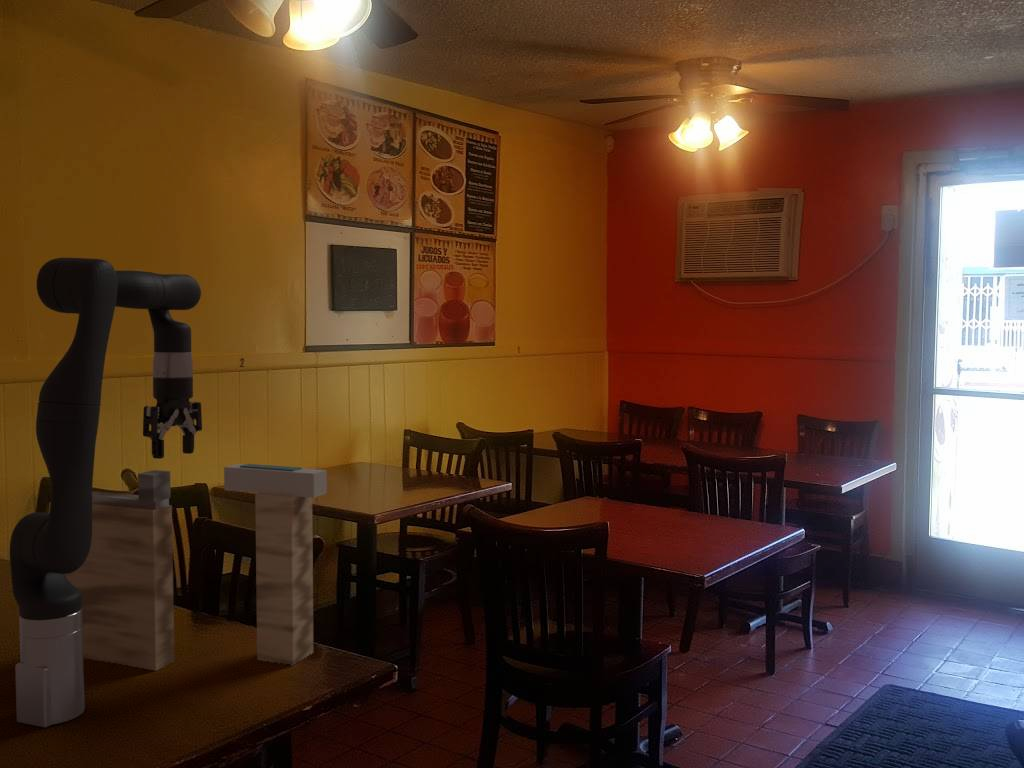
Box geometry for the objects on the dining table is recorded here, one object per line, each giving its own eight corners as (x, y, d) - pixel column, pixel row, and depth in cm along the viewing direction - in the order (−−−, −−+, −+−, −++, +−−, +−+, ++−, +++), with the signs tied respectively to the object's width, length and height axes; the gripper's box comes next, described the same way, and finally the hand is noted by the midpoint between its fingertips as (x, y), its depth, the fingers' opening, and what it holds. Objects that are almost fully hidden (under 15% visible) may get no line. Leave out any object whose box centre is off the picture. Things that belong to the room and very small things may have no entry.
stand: (293, 665, 176) (291, 497, 174) (257, 659, 179) (255, 494, 177) (313, 653, 183) (312, 491, 181) (278, 648, 186) (277, 488, 184)
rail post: (155, 670, 173) (152, 475, 171) (64, 655, 181) (59, 467, 179) (174, 661, 178) (171, 471, 176) (84, 646, 186) (79, 463, 183)
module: (326, 493, 178) (326, 468, 178) (313, 497, 174) (313, 472, 174) (238, 486, 185) (238, 462, 185) (224, 490, 181) (224, 465, 181)
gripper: (162, 377, 179) (163, 461, 180) (211, 374, 192) (212, 452, 193) (131, 375, 182) (132, 459, 183) (182, 373, 195) (183, 450, 196)
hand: (173, 455), depth 188 cm, fingers open, 8 cm apart
